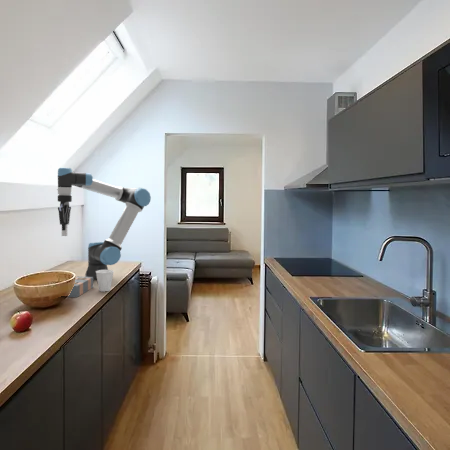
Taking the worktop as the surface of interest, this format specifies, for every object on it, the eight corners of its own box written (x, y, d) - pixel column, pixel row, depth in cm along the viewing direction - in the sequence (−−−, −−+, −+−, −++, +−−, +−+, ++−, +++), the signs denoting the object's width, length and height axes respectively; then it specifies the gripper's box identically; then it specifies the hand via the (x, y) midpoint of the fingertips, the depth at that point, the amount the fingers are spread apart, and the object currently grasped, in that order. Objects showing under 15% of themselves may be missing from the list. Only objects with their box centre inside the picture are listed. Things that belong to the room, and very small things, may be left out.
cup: (99, 293, 220) (99, 273, 220) (92, 289, 228) (92, 270, 227) (116, 291, 227) (116, 271, 226) (109, 287, 234) (109, 269, 234)
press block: (77, 286, 235) (77, 276, 234) (93, 287, 235) (93, 277, 234) (59, 296, 211) (59, 285, 210) (76, 297, 211) (77, 285, 210)
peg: (79, 287, 231) (79, 277, 230) (86, 288, 231) (86, 277, 230) (76, 289, 227) (76, 278, 226) (83, 289, 227) (83, 279, 226)
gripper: (63, 194, 238) (62, 234, 240) (53, 194, 225) (52, 236, 227) (75, 195, 238) (75, 235, 239) (66, 195, 225) (66, 237, 226)
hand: (64, 235), depth 233 cm, fingers closed
